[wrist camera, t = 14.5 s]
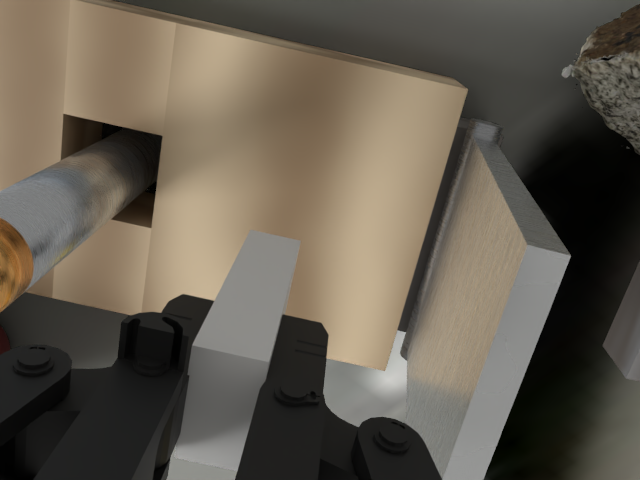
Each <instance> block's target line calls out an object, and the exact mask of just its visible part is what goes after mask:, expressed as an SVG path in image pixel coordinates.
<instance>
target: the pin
mask: <svg viewBox="0 0 640 480" xmlns="http://www.w3.org/2000/svg"><path fill="white" fill-rule="evenodd" d="M162 137H163V136H161V135H157V134H152V133H148V132H143V131H139V130H134V129H130V128H124V129H122V130H120V131H118V132H116V133H114V134H112V135H110V136H108V137H106V138H104V139H102V140H100V141H98V142H96V143H94V144H92V145H90V146H88V147H87V148H85V149H83V150H81V151H79V152H77V153H75V154H73V155H71V156H69V157H67V158H65V159H63V160H61V161H59V162H57V163H55V164H53V165H51V166H49V167H47V168H45V169H43V170H41V171H39V172H37V173H35V174H33V175H31V176H29V177H27V178H25V179H23V180H21V181H19V182H17V183H15V184H13V185H12V186H10V187H8V188H6V189H4V190H2V191H0V312H1V311H3V310H4V309H5V308H6V307H7V306H9V305H10V304H11V303H12V302H13V301H14V300H16V299H17V298H18V297H19V296H20V295H22V294H23V293H24V292H25V291H26V290H28V289H29V288H30V287H31V286H32V285H33V284H35V283H36V282H37V281H38V280H39V279H41V278H42V277H43V276H44V275H45V274H46V273H48V272H49V271H50V270H51V269H52V268H54V267H55V266H56V265H57V264H58V263H60V262H61V261H62V260H63V259H64V258H65V257H67V256H68V255H69V254H70V253H71V252H73V251H74V250H75V249H76V248H77V247H78V246H80V245H81V244H82V243H83V242H84V241H86V240H87V239H88V238H89V237H90V236H91V235H93V234H94V233H95V232H96V231H97V230H99V229H100V228H101V227H102V226H103V225H105V224H106V223H107V222H108V221H109V220H110V219H112V218H113V217H114V216H115V215H116V214H118V213H119V212H120V211H121V210H122V209H123V208H125V207H126V206H127V205H128V204H129V203H131V202H132V201H133V200H134V199H135V198H136V197H138V196H139V195H140V194H141V193H142V192H144V191H145V190H146V189H147V188H148V187H150V186H151V185H152V184H153V183H154V182H155V181H157V178H158V170H159V162H160V153H161V145H162Z"/></svg>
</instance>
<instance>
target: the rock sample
mask: <svg viewBox="0 0 640 480" xmlns="http://www.w3.org/2000/svg"><path fill="white" fill-rule="evenodd" d="M603 24H604V23H603ZM586 40H587V42H586V43H585V44H584V45H583V46H582V48H581V52H580V55H579V58H578V60H577V61H576V59H574V60H573V61H576V62H575V64H574V66H572V65H569V67H565V68H564V69H563V71H562V76H563V77H565V78H567V77H568V76H570V75H572V77H575V78H576V79H577V80H579V81H580V84H581V89H582V91H583V92H584V94H583V95H584V97H585V98H586V99H587V101H588V102H589V105H590V107H591V108H593V109H594V110H596V111H597V112H598V113H599V114H600V115H602V116H603V120H604V122H605V123H606V125H607V126H608V127H609V128H610V129H612V130H614V131H616V132H617V133H619V134H620V135H622V136H623V137H625V138H626V139H627V140H628V141H629V142H630V143H631V144H632V145H633V147H634V150H635V152H636V153H637V154H639V155H640V4H639V5H636V6H635V7H633V8H631V9H629V10H628V11H626V12H623V13H621V16H620V18H617V19H614V20H613V21H612V22H609V23H607V24H605V25H603V26H600V27H598V26H597V27H596V29H595V30H594V31H592V32H591V35H590V36H589V37H588V38H587V39H586ZM576 55H578V54H577V53H576ZM576 85H578V84H576ZM575 89H576V88H575ZM575 89H574V90H575ZM582 108H583V107H582ZM622 147H623V146H622ZM626 148H628V149H630V148H629V147H628V146H627V147H626Z"/></svg>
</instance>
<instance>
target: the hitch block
mask: <svg viewBox="0 0 640 480" xmlns="http://www.w3.org/2000/svg"><path fill="white" fill-rule="evenodd" d="M467 92H468V89H467V88H466V87H464V86H463V85H462V84H460V83H459V82H458V81H456V80H455V79H453V78H451V77H447V76H443V75H438V74H434V73H429V72H425V71H421V70H416V69H412V68H407V67H403V66H399V65H394V64H390V63H385V62H381V61H377V60H372V59H368V58H363V57H359V56H355V55H350V54H346V53H341V52H337V51H333V50H328V49H324V48H320V47H315V46H311V45H306V44H302V43H298V42H293V41H289V40H284V39H280V38H276V37H271V36H267V35H262V34H258V33H254V32H249V31H245V30H240V29H236V28H232V27H227V26H223V25H218V24H214V23H210V22H205V21H201V20H196V19H192V18H188V17H183V16H179V15H174V14H170V13H166V12H161V11H157V10H153V9H148V8H144V7H139V6H135V5H131V4H126V3H122V2H117V1H113V0H0V191H2V190H4V189H6V188H8V187H10V186H12V185H13V184H15V183H17V182H19V181H21V180H23V179H25V178H27V177H29V176H31V175H33V174H35V173H37V172H39V171H41V170H43V169H45V168H47V167H49V166H51V165H53V164H55V163H57V162H59V161H61V160H63V159H65V158H67V157H69V156H71V155H73V154H75V153H77V152H79V151H81V150H83V149H85V148H87V147H88V146H90V145H92V144H94V143H96V142H98V141H100V140H102V128H103V123H108V124H112V125H116V126H121V127H125V128H130V129H134V130H139V131H143V132H148V133H152V134H157V135H161V136H163V137H162V145H161V153H160V162H159V170H158V178H157V186H156V194H152V193H148V192H142V193H141V194H140V195H139V196H138V197H136V198H135V199H134V200H133V201H132V202H131V203H129V204H128V205H127V206H126V207H125V208H123V209H122V210H121V211H120V212H119V213H118V214H116V215H115V216H114V217H113V218H112V219H110V220H109V221H108V222H107V223H106V224H105V225H103V226H102V227H101V228H100V229H99V230H97V231H96V232H95V233H94V234H93V235H91V236H90V237H89V238H88V239H87V240H86V241H84V242H83V243H82V244H81V245H80V246H78V247H77V248H76V249H75V250H74V251H73V252H71V253H70V254H69V255H68V256H67V257H65V258H64V259H63V260H62V261H61V262H60V263H58V264H57V265H56V266H55V267H54V268H52V269H51V270H50V271H49V272H48V273H46V274H45V275H44V276H43V277H42V278H41V279H39V280H38V281H37V282H36V283H35V284H33V285H32V286H31V287H30V288H29V289H28V290H26V291H25V292H27V293H31V294H36V295H40V296H45V297H49V298H54V299H59V300H63V301H68V302H72V303H77V304H81V305H86V306H91V307H95V308H100V309H104V310H109V311H113V312H118V313H123V314H127V315H134V314H137V313H143V312H159V313H161V312H162V310H163V309H164V307H165V306H166V304H167V303H168V301H170V300H172V299H174V298H176V297H178V296H180V295H181V294H186V295H191V296H195V297H200V298H204V299H209V300H213V301H215V299H216V297H217V295H218V293H219V291H220V289H221V287H222V285H223V283H224V281H225V279H226V277H227V275H228V273H229V271H230V269H231V267H232V265H233V263H234V261H235V259H236V257H237V255H238V253H239V251H240V249H241V247H242V245H243V243H244V241H245V239H246V237H247V235H248V233H249V231H250V230H254V231H259V232H263V233H268V234H272V235H277V236H281V237H286V238H290V239H295V240H299V241H301V242H300V247H299V252H298V256H297V261H296V265H295V270H294V275H293V279H292V284H291V289H290V293H289V298H288V302H287V307H286V312H285V315H289V316H293V317H298V318H302V319H307V320H311V321H316V322H320V323H322V324H323V326H324V328H325V329H326V331H327V333H328V335H329V337H328V347H327V356H326V358H328V359H333V360H337V361H342V362H346V363H351V364H356V365H360V366H365V367H369V368H374V369H378V370H383V371H385V370H386V366H387V363H388V359H389V356H390V353H391V349H392V346H393V342H394V339H395V336H396V332H397V330H399V331H403V332H406V331H407V328H408V325H409V321H410V318H411V315H412V311H413V308H414V305H415V301H416V298H417V295H418V291H419V288H420V285H421V282H422V278H423V275H424V272H425V268H426V265H427V262H428V258H429V255H430V252H431V248H432V245H433V242H434V238H435V235H436V232H437V228H438V225H439V222H440V219H441V215H442V212H443V209H444V205H445V202H446V199H447V195H448V192H449V189H450V185H451V182H452V179H453V175H454V172H455V169H456V165H457V162H458V159H459V155H460V152H461V149H462V146H463V142H464V139H465V136H466V132H467V129H468V126H469V122H470V119H466V118H461V117H460V115H461V112H462V109H463V105H464V102H465V98H466V95H467ZM502 140H503V136H500V139H499V142H498V147H499V148H500V146H501V143H502ZM603 347H604V348H605V350H606V351H607V353H608V354H609V355H610V357H611V358H612V360H613V361H614V362H615V364H616V365H617V366H618V368H619V369H620V371H621V372H622V373H623V375H624V376H625V378H627V379H631V380H636V381H640V261H639V263H638V266H637V268H636V270H635V273H634V275H633V277H632V279H631V282H630V284H629V286H628V289H627V291H626V293H625V295H624V298H623V300H622V302H621V305H620V307H619V309H618V311H617V314H616V316H615V318H614V321H613V323H612V325H611V327H610V330H609V332H608V334H607V336H606V339H605V341H604V343H603Z"/></svg>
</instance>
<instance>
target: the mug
mask: <svg viewBox="0 0 640 480" xmlns="http://www.w3.org/2000/svg"><path fill="white" fill-rule="evenodd" d="M9 350H10V344H9V340H8V337H7V335H6V333H5V331H4V329H3V328H2V327H1V325H0V355H1V354H3V353H4V352H7V351H9Z"/></svg>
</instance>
